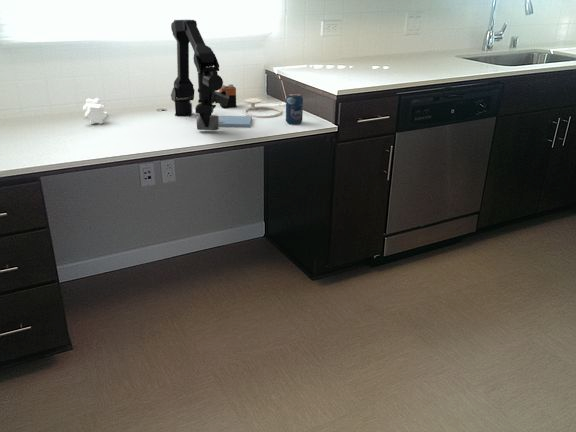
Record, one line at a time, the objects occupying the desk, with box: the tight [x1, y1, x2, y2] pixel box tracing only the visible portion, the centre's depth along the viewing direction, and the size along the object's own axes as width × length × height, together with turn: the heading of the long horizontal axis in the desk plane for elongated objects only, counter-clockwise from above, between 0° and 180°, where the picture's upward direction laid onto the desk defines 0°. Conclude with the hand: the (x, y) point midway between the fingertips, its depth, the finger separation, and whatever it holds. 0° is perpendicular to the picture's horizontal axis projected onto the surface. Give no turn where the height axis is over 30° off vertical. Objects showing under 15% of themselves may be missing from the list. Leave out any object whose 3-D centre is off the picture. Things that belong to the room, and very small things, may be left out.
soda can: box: [285, 92, 304, 126], centre depth 226 cm, size 7×7×12 cm
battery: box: [218, 84, 237, 109], centre depth 249 cm, size 4×7×10 cm, turn 112°
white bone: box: [82, 97, 108, 125], centre depth 225 cm, size 15×9×8 cm, turn 23°
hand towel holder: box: [243, 97, 283, 119], centre depth 243 cm, size 17×4×21 cm
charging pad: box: [218, 115, 253, 128], centre depth 227 cm, size 16×13×1 cm
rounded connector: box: [195, 114, 224, 131], centre depth 213 cm, size 11×4×5 cm, turn 90°
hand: (207, 125), depth 213 cm, fingers closed on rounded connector, 4 cm apart
